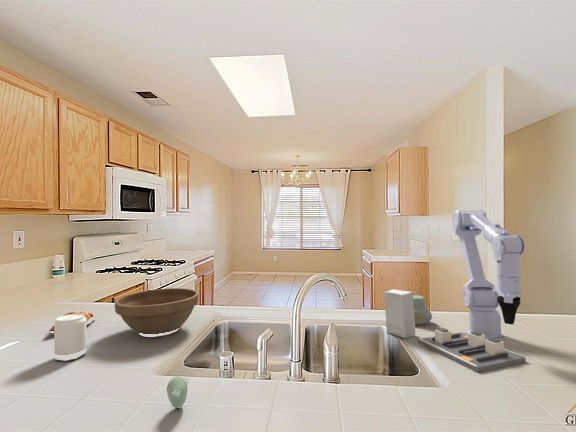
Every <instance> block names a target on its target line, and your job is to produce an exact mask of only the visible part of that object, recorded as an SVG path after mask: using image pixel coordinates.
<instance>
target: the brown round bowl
mask: <svg viewBox="0 0 576 432" xmlns="http://www.w3.org/2000/svg"><path fill="white" fill-rule="evenodd" d="M198 303H199V292H198V291H197V290H195V289H190V288H178V287H176V288H175V287H173V288H172V287H171V288H169V287H168V288H159V289H158V288H157V289H155V288H154V289H149V290H143V291H136V292H133V293H129V294H125V295H123V296H121V297H118V298H116V299H115V301H114V312H115V313H116V314H117V315H118V316H120V317H121V318H122V320H123V322H124V323H125V324H126V325H127V326H128V327H129V328H130V329H131V330H132V331H133V332H134V333H136V332H138V333H143V334H159V333H165V332H170V331H173V330H176V329H178V328H182V326H183V325H184V324H185V323H186V322H187V320H188V318H189V317H190V316H191V315H192V312H193V310H194V308H195V306H197V305H198ZM138 333H137V334H138Z"/></svg>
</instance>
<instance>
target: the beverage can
mask: <svg viewBox="0 0 576 432" xmlns="http://www.w3.org/2000/svg"><path fill="white" fill-rule="evenodd" d="M63 315H64V316H63ZM63 315H61V316H59V317H57V318H55V319H56V320H55V322H54V325H53V326H54V335H53V336H54V337H53V338H54V347H53V349H54V352H53V353H55V354H57V355H69V354H74V353H77V352H80V351H82V350H84V349H85V348H86V347H88V345H87V343H88V342H87V339H88V338H87V337H88V334H87V332H88V331H87V329H88V328H87V327H88V326H87V324H86V318H85V315H84V314H69V315H65V314H63Z"/></svg>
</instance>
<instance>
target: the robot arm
mask: <svg viewBox="0 0 576 432" xmlns="http://www.w3.org/2000/svg"><path fill="white" fill-rule="evenodd" d="M451 220H452V221H451V222H452V227H453V230H454V235H456V236H458V237H459V241H460V244H461V250H462V254H463V259H464V262H465V267H466V271H467V277H468V281H467V282H466V283H465V284H463V286H462V300H463V304H464V305H465V306H466V307H467V308H468V313H469V315H468V317H469V318H468V319H469V321H468V322H469V323H468V325H469V329H467V330H463V333H465V334H468V333H471V332H475V331H477V332H480V333H482V334H484V335H485V340H488V339H491V338H496V339H498V338H501V337H504V334H502V318H501V314H500V312H499V311H498V310H497V309H498V307H500V310H501V313H502V317H503V322H504V324H506V325H512V326H513V325H514V324H515V319H516V316H517V315H516V314H517V310H518V309H519V307H520V305H521V296H522V292H521V255H522V254H523V253H524V252H525V246H526V245H525V241H524V239H523V237H522V236H521V235H519V234H511V233H510V232H509V231H507V229H504V228H503V227H502V226H501V224H499V223H492V222H491V221H490V220H489V219H488V217H487V212H485V211H484V210H483V209H473V210H471V209H467V210H465V209H464V210H463V209H461V210H459V209H457V210H456V209H455V211H453V214H452V217H451ZM481 233H482V236H483V238H484V239H486V241H487V242H488V243H490V244H491V247H492V251H493V256H494V260H495V261H496V287H495V284H493V283H492V282H490V281H489V280H488V279H486V275H485V273H484V269H483V265H482V260H481V257H480V253H479V249H478V244H477V241H476V237H477V236H479V235H481Z"/></svg>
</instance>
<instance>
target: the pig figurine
mask: <svg viewBox="0 0 576 432" xmlns="http://www.w3.org/2000/svg"><path fill="white" fill-rule="evenodd" d="M188 389H189V377H183V376H180V375H179V376H178V375H177V376H173V377H172V378H171V379H170V380H169V381H168V383H167V387H166V393H167V398H168V400H169V402H170V403H169V404H171V406H172V407H173V408H174V407H175V408H179V407H181V408H182V407H183V405H184V404H185V402H186V399H187V395H188ZM175 408H174V409H175ZM179 409H180V408H179Z"/></svg>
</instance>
